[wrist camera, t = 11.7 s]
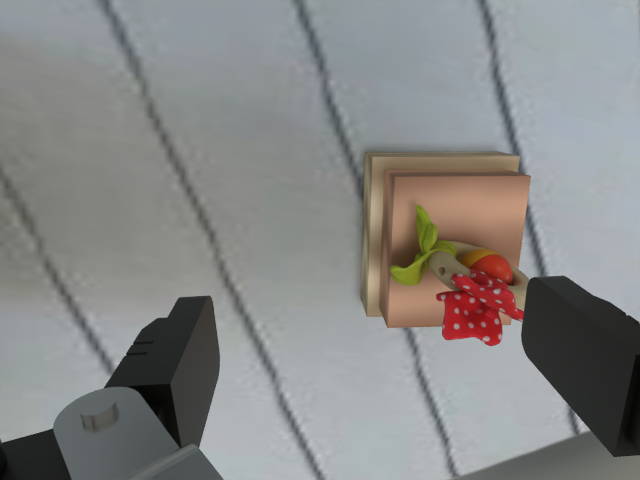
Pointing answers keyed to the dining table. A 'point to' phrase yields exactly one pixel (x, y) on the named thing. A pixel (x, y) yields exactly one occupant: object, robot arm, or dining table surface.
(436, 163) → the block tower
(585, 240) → the dining table surface
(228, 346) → the dining table surface
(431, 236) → the bird rattle
